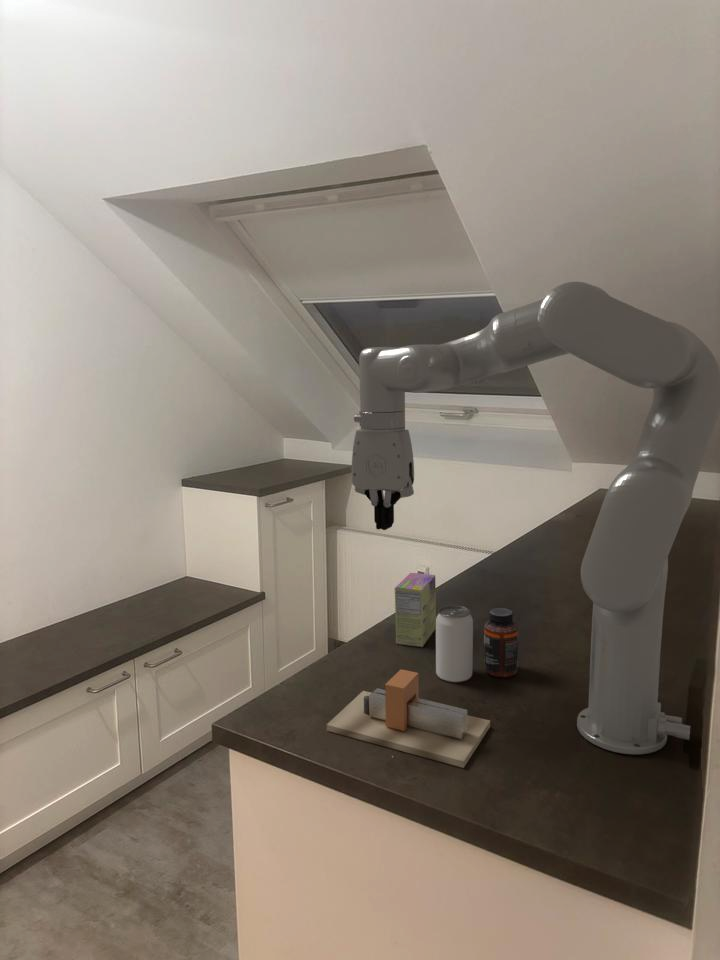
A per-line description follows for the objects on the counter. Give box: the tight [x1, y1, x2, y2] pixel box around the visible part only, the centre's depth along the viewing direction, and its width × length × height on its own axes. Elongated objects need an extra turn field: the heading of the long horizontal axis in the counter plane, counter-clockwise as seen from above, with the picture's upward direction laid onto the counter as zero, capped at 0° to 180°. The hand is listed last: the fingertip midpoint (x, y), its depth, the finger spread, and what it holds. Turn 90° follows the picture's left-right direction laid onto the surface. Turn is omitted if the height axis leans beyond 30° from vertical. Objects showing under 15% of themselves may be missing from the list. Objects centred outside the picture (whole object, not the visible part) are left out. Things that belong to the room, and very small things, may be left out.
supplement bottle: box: [483, 607, 519, 678], centre depth 122 cm, size 6×6×11 cm
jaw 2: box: [373, 687, 468, 735], centre depth 104 cm, size 15×1×3 cm, turn 61°
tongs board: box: [326, 690, 491, 769], centre depth 105 cm, size 22×12×4 cm, turn 62°
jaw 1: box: [369, 691, 464, 739], centre depth 103 cm, size 15×1×3 cm, turn 62°
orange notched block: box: [384, 668, 420, 731], centre depth 105 cm, size 3×6×7 cm, turn 152°
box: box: [394, 572, 437, 648], centre depth 139 cm, size 10×6×12 cm, turn 159°
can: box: [435, 605, 474, 683], centre depth 121 cm, size 6×6×12 cm
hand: (384, 527), depth 118 cm, fingers closed
